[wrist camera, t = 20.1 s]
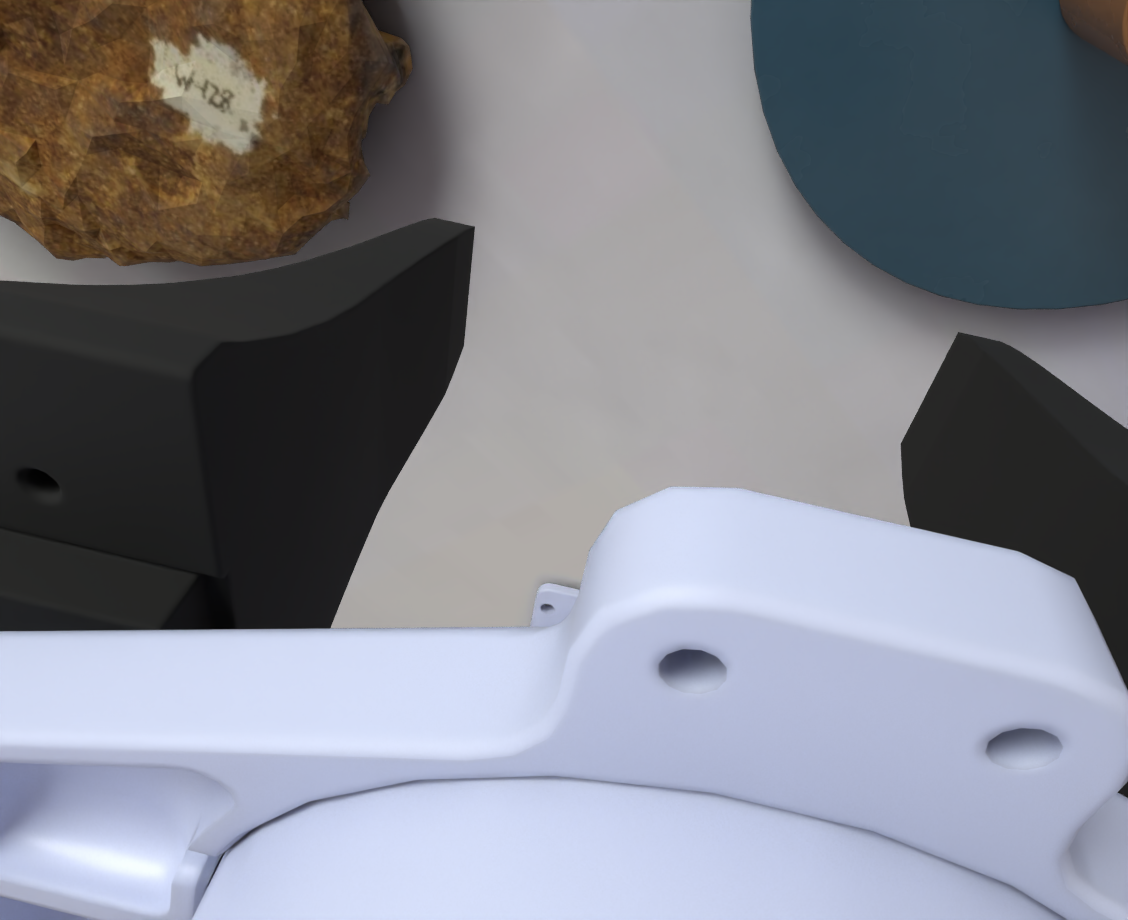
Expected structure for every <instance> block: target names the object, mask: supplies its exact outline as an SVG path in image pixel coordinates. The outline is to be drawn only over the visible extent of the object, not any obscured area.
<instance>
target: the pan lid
mask: <svg viewBox="0 0 1128 920" xmlns="http://www.w3.org/2000/svg"><path fill="white" fill-rule="evenodd" d="M750 20H751V33H752V46H753V59H754V70H755V75H756V80H757V85H758V89H759V94H760V99H761V104H762V109H763V113H764V116H765V119H766V121H767V124H768V127H769V130H770V133H771V135H772V138H773V141H774V144H775V147H776V150H777V152H778V154H779V156H780V158H781V160H782V162H783V163H784V165H785V167H786V169H787V171H788V173H789V175H790V177H791V179H792V181H793V182H794V184H795V186H796V188H797V189H798V190H799V192H800V193H801V194H802V196H803V197H804V199H805V200H806V201H807V203H808V204H809V205H810V207H811V208H812V210H813V211H814V212H815V214H816V215H817V216H818V217H819V218H820V219H821V220H822V222H823V223H824V224H825V225H826V226H827V227H828V228H829V229H830V230H831V231H832V232H833V233H834V234H835V235H836V236H837V237H838V238H839V239H840V240H841V241H842V242H843V243H844V244H846V245H847V246H848V247H850V248H851V249H852V250H854V251H855V252H856V253H858V254H859V255H860V256H862V257H863V258H864V259H866V260H867V261H868V262H870V263H871V264H872V265H874V266H876V267H878V268H880V269H881V270H883V271H885V272H887V273H889V274H890V275H892V276H894V277H896V278H898V279H900V280H901V281H903V282H905V283H908V284H910V285H913V286H916V287H918V288H921V289H924V290H926V291H929V292H931V293H934V294H937V295H939V296H943V297H947V298H952V299H956V300H960V301H964V302H968V303H973V304H977V305H985V306H994V307H1002V308H1011V309H1065V308H1075V307H1084V306H1093V305H1103V304H1108V303H1112V302H1117V301H1122V300H1127V299H1128V0H751V15H750Z"/></svg>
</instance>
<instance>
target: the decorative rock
mask: <svg viewBox="0 0 1128 920" xmlns="http://www.w3.org/2000/svg"><path fill="white" fill-rule="evenodd" d="M412 69H413V67H412V60H411V54H410V48H409V45H408V44H407V43H406V42H405V41H404V40H403V39H402V38H400V37H397V36H394V35H391V34H388V33H385V32H382V31H379V30H378V29H377V28H376V26H375V24H374V22H373V20H372V19H371V17H370V15H369V13H368V11H367V10H366V8H365V6H364V4H363V2H362V1H361V0H0V215H1V216H3V217H5V218H7V219H9V220H11V221H13V222H15V223H16V224H17V225H18V226H20V227H21V228H22V229H24V230H25V231H26V232H27V233H29V234H30V235H31V236H32V237H34V238H35V239H36V240H37V241H38V242H39V243H40V244H42V245H43V246H44V247H45V248H46V249H47V250H48V251H49V252H50V253H51V254H52V255H53V256H54V257H56V258H57V259H65V260H72V261H74V260H79V259H83V258H106V257H109V258H110V259H111V260H113V261H114V262H115V263H117V264H118V265H119V266H129V265H135V264H141V263H147V262H175V261H183V262H187V263H191V264H195V265H198V266H209V265H223V264H233V263H241V262H249V261H256V260H264V259H269V258H275V257H281V256H288V255H294V254H296V253H297V252H298V251H299V250H300V249H301V248H302V247H303V246H304V245H305V244H306V243H307V242H308V241H309V239H311V238H312V237H313V236H314V235H315V234H316V233H318V232H319V231H320V230H321V229H322V228H323V227H324V226H326V225H327V224H328V223H329V222H330V221H332V220H337V219H342V218H344V219H347V220H348V218H349V207H350V203H349V200H350V199H351V198H352V197H353V196H354V195H355V194H356V193H357V192H358V191H359V190H360V189H361V187H362V186H363V184H364V183H365V182H366V180H367V179H368V178H369V176H370V173H369V171H368V169H367V167H366V165H365V163H364V158H363V153H362V148H361V142H362V139H364V138H365V137H366V132H367V126H368V119H369V115H370V113H371V111H372V110H373V108H374V106H375V105H376V103H381V104H387V105H388V104H389V102H390V101H391V99H392V97H393V96H394V94H395V92H396V91H397V90H399V89H400V88H401V87H403V86H404V85H405V83H406V81H407V79H408V77H409V75H410V73H411V71H412Z"/></svg>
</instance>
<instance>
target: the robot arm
mask: <svg viewBox="0 0 1128 920" xmlns="http://www.w3.org/2000/svg"><path fill="white" fill-rule="evenodd" d="M474 230H475V227H473V226H469V225H464V224H460V223H455V222H451V221H446V220H441V219H437V218H433V219H427V220H423V221H420V222H417V223H414V224H411V225H408V226H406V227H403V228H400V229H397V230H395V231H392V232H390V233H387V234H384V235H381V236H379V237H376V238H373V239H371V240H368V241H365V242H363V243H360V244H357V245H354V246H352V247H348V248H345V249H342V250H339V251H336V252H332V253H329V254H326V255H323V256H320V257H316V258H313V259H310V260H307V261H304V262H300V263H296V264H292V265H288V266H284V267H280V268H275V269H271V270H265V271H260V272H255V273H250V274H245V275H239V276H232V277H223V278H214V279H205V280H196V281H187V282H178V283H165V284H143V285H68V284H51V283H34V282H16V281H0V920H1128V429H1126V428H1125V427H1123V426H1122V425H1121V424H1119V423H1118V422H1116V421H1115V420H1114V419H1112V418H1111V417H1109V416H1108V415H1107V414H1105V413H1104V412H1103V411H1101V410H1100V409H1098V408H1097V407H1096V406H1094V405H1093V404H1092V403H1090V402H1089V401H1088V400H1086V399H1085V398H1084V397H1082V396H1081V395H1080V394H1078V393H1077V392H1076V391H1074V390H1073V389H1072V388H1070V387H1069V386H1068V385H1066V384H1065V383H1064V382H1062V381H1061V380H1059V379H1058V378H1057V377H1055V376H1054V375H1053V374H1051V373H1050V372H1049V371H1047V370H1046V369H1045V368H1043V367H1042V366H1040V365H1039V364H1038V363H1036V362H1035V361H1033V360H1032V359H1030V358H1029V357H1027V356H1026V355H1024V354H1023V353H1021V352H1019V351H1018V350H1016V349H1014V348H1013V347H1011V346H1009V345H1007V344H1005V343H1003V342H1000V341H996V340H991V339H987V338H982V337H978V336H973V335H968V334H964V333H959V332H958V334H957V336H956V338H955V340H954V342H953V344H952V346H951V348H950V350H949V351H948V353H947V355H946V357H945V359H944V361H943V363H942V365H941V367H940V369H939V371H938V373H937V375H936V377H935V379H934V381H933V383H932V384H931V386H930V388H929V390H928V392H927V394H926V396H925V398H924V400H923V402H922V404H921V406H920V408H919V410H918V412H917V414H916V415H915V417H914V419H913V421H912V423H911V425H910V427H909V429H908V431H907V433H906V435H905V437H904V439H903V441H902V443H901V460H902V479H903V491H904V500H905V504H906V509H907V513H908V518H909V522H910V526H911V527H908V526H904V525H899V524H895V523H891V522H886V521H882V520H877V519H873V518H869V517H864V516H860V515H855V514H851V513H846V512H842V511H838V510H833V509H829V508H824V507H820V506H816V505H811V504H807V503H802V502H798V501H794V500H789V499H785V498H780V497H776V496H771V495H767V494H763V493H758V492H754V491H749V490H745V489H741V488H717V487H669V488H666V489H664V490H662V491H659V492H657V493H655V494H653V495H650V496H648V497H646V498H643V499H641V500H639V501H637V502H634V503H632V504H630V505H627V506H625V507H623V508H621V509H618V510H616V511H615V513H614V514H613V516H612V517H611V519H610V520H609V522H608V523H607V525H606V526H605V528H604V529H603V531H602V532H601V534H600V535H599V537H598V538H597V540H596V541H595V542H594V544H593V545H592V547H591V548H590V550H589V554H588V558H587V562H586V566H585V570H584V574H583V578H582V582H581V586H580V590H579V589H574V588H570V587H566V586H561V585H557V584H552V583H546V584H543V585H541V586H540V587H539V588H538V591H537V595H536V599H535V604H534V609H533V614H532V619H531V624H530V627H445V628H331V625H332V622H333V620H334V617H335V615H336V612H337V610H338V607H339V605H340V602H341V600H342V597H343V595H344V592H345V590H346V587H347V585H348V582H349V580H350V577H351V575H352V573H353V570H354V568H355V565H356V563H357V560H358V558H359V556H360V553H361V551H362V549H363V546H364V544H365V541H366V539H367V537H368V534H369V532H370V530H371V527H372V525H373V523H374V520H375V518H376V516H377V513H378V511H379V510H380V508H381V506H382V504H383V502H384V500H385V498H386V496H387V494H388V492H389V490H390V489H391V487H392V485H393V483H394V482H395V480H396V478H397V477H398V475H399V473H400V471H401V470H402V468H403V466H404V465H405V463H406V461H407V459H408V458H409V456H410V454H411V453H412V451H413V449H414V448H415V446H416V444H417V442H418V441H419V439H420V437H421V436H422V434H423V432H424V430H425V429H426V427H427V425H428V424H429V422H430V420H431V418H432V417H433V415H434V413H435V411H436V410H437V408H438V406H439V404H440V403H441V401H442V399H443V397H444V395H445V393H446V391H447V388H448V386H449V383H450V381H451V378H452V376H453V373H454V371H455V368H456V365H457V363H458V360H459V357H460V355H461V352H462V349H463V347H464V338H465V327H466V316H467V305H468V295H469V284H470V273H471V262H472V252H473V241H474ZM545 604H549V605H551V606H547V605H545Z"/></svg>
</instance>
